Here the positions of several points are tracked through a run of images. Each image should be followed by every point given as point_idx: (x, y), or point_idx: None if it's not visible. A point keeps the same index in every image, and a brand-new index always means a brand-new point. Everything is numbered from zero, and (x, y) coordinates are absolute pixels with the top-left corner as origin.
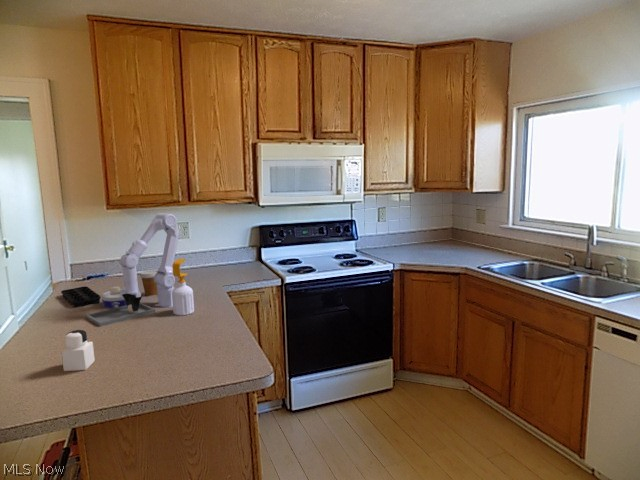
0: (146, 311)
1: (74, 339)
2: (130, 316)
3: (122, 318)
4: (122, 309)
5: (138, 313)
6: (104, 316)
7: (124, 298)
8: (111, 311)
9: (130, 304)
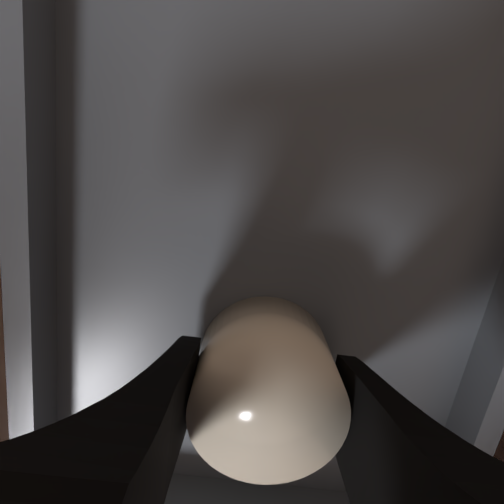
0: (10, 414)
1: None
2: (12, 191)
3: (4, 56)
4: (482, 330)
5: (4, 313)
6: (471, 9)
7: (495, 468)
8: None
9: (347, 422)
